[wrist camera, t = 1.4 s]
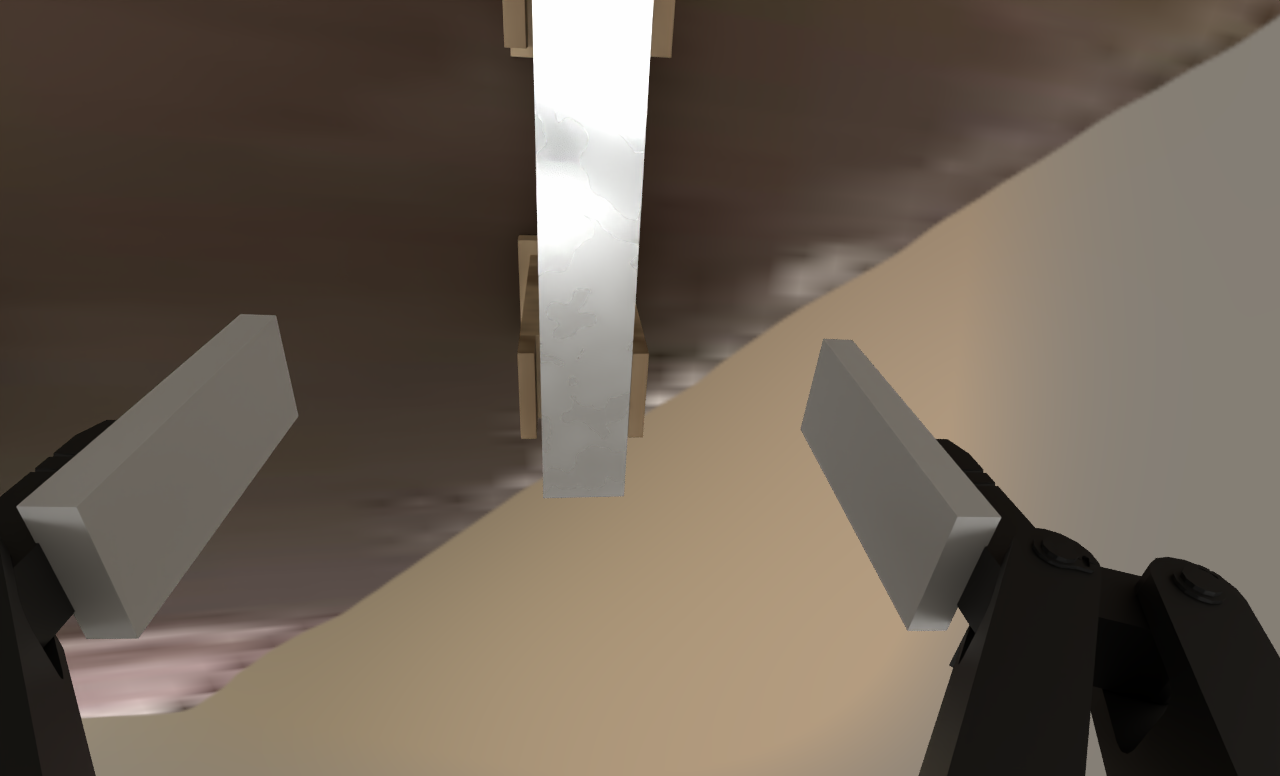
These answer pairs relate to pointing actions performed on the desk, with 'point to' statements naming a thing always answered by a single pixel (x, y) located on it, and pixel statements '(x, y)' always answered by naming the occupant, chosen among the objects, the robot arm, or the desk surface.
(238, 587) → the desk surface
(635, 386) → the post
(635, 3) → the rail
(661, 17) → the post
